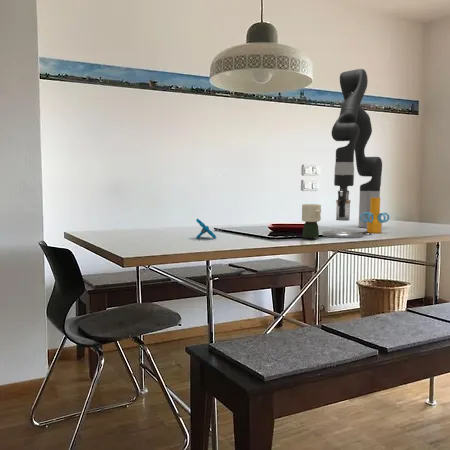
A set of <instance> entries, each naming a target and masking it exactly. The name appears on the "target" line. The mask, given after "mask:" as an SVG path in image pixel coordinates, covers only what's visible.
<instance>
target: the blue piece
mask: <svg viewBox="0 0 450 450" xmlns="http://www.w3.org/2000/svg"><path fill="white" fill-rule="evenodd" d="M195 221H196V222H197V224H199V226H200V227H202V228H201V230H200V232H199V233H198V234H197V236H196V237H195V238H197V240H198V239H200V238H201V236H202V235H204V234H206V233H207V234H208V235H209V236H211V237H212V238H214V239H216V238H217V235H216V234H215V233H214V232H213V231H212V230H211V229H210V227H209V226H208V225H206V224H205V223H204V222H203V221H201V219H200V218H196V220H195Z"/></svg>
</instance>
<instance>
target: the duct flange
mask: <svg viewBox="0 0 450 450" xmlns="http://www.w3.org/2000/svg"><path fill="white" fill-rule="evenodd" d="M321 235H322V236H323V237H325V238H336V239H361V238H363V237H364V233H363V232H361V231H360V232H359V231H353V230H352V231H351V230H327V231H326V230H324V231H322V232H321Z"/></svg>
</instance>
